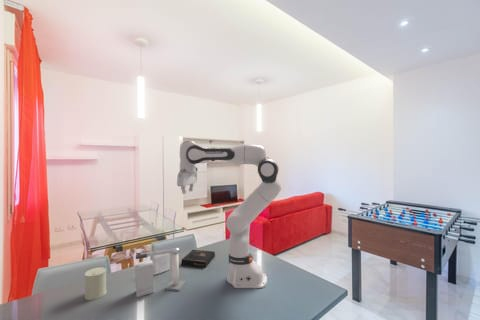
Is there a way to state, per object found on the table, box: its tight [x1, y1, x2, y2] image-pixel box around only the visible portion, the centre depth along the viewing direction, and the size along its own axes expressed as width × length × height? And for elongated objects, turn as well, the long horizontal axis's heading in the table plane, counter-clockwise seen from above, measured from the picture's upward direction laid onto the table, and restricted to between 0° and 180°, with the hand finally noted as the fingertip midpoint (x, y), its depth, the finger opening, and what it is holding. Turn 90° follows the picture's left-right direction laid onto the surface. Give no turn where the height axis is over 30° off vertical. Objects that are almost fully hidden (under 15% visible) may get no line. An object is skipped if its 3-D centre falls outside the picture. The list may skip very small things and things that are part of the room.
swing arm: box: [135, 246, 180, 260], centre depth 116 cm, size 21×5×2 cm, turn 111°
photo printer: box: [151, 253, 171, 276], centre depth 135 cm, size 10×4×12 cm, turn 134°
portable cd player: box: [181, 249, 216, 269], centre depth 149 cm, size 16×17×4 cm
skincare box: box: [134, 259, 155, 298], centre depth 114 cm, size 8×6×15 cm
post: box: [164, 253, 187, 292], centre depth 119 cm, size 8×8×18 cm
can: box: [84, 266, 108, 301], centre depth 112 cm, size 9×9×12 cm
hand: (187, 192), depth 132 cm, fingers open, 8 cm apart
